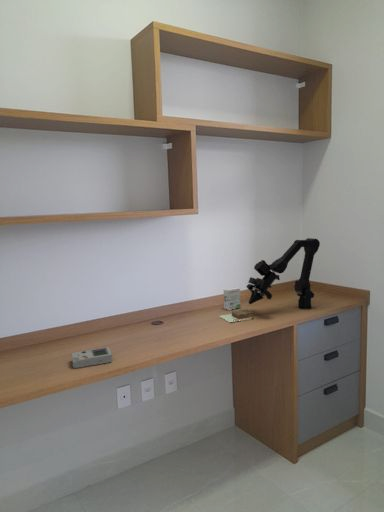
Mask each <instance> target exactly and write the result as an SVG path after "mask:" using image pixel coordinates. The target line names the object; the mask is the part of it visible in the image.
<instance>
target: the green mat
mask: <svg viewBox="0 0 384 512" xmlns="http://www.w3.org/2000/svg"><path fill="white" fill-rule="evenodd" d="M218 317H219V318H221V319H222V318H223V320H224V319H225V322H227V321H228V322H227V323H229V322H233V320H234V319H236V318H234V319H233V316H232V313H229V314H223V315H218ZM240 320H241V319H240ZM240 320H239V321H240ZM243 320H244V319H243ZM234 321H235V320H234Z"/></svg>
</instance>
